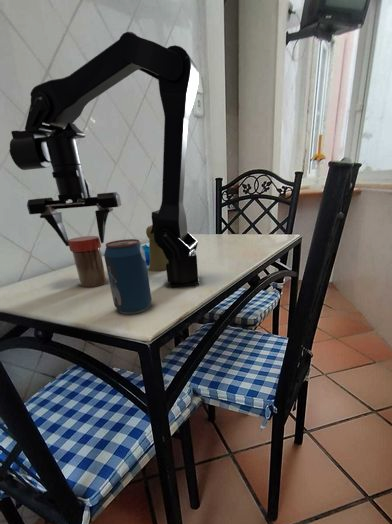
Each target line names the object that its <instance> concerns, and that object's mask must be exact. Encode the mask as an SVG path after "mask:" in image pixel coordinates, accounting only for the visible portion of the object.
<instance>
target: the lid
mask: <svg viewBox="0 0 392 524" xmlns="http://www.w3.org/2000/svg"><path fill="white" fill-rule="evenodd" d="M68 242H69V243H68V244H69V246H68V247H69V251H70V252H85V251H92V250H96V249H99V248H100V249H101V248H102V243H101V241H100V238H99V235H85V236H78V237H73V238H70V239H69V238H68Z"/></svg>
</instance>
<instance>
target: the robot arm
mask: <svg viewBox="0 0 392 524" xmlns="http://www.w3.org/2000/svg"><path fill="white" fill-rule="evenodd" d="M136 71H140V72H143V73H145V74H146V75H148V76H150V77H152V78H154V79H156V80H157V81H158V89H159V96H160V97H159V98H160V100H161V106H162V110H163V116H164V122H163V123H164V124H163V125H164V126H163V127H164V128H163V155H162V156H163V158H162V186H161V187H162V189H161V193H162V194H161V203H160V207H159V209H158V210H157V209H156V210H155V211H152V212H151V222H152V224H151V225H152V230H151V234H152V233H154V241H155V243H156V244H157V245H158V246H159V247H160V248H161V249H162V250H163V252H164V254H165V257H166V259H168V262H166V270H165V271H166V279H167V283H169V287H170V288H176V287H177V288H178V287H189V286H199V285H200V279H199V271H198V270H199V269H198V258H197V257H198V256H197V252H196V251H197V248H198V244H199V241H198V240H197V239H196V238H195V237H194V236H193V235H192V234H191V233H190V232H188V224H187V223H188V222H187V215H186V210H185V207H184V206H185V205H184V194H185V176H186V163H187V161H186V160H187V159H186V158H187V146H188V130H189V120H190V117H191V113H192V110H193V107H194V104H195V100H196V95H197V91H198V86H199V81H200V76H199V75H200V73H199V69H198V67H197V65H196V64H195V62H194V61H193V59H192V58H191V56H190V55H189V53H188V52H187V51H186V49H184V48H183V47H182V46H180V45H175V44H174V45H170V46H167V47H165V46H164V45H161V44H159V43H157V42H155V41H153V40H150V39H146V38H144V37H140V36H138V35H137V34H136V33H134V32H133V31H126V32H124V33H122V34H121V36H120V37H119V39H117V40H116V41H115V42H114V43H112V44H110V45H109V46H108V47H106V48H105V49H103V50H102V51H100V53H98V54H97V55H95V56H94V57H93V58H91V59H89V60H88V61H87V62H86V63H84V64H83V65H81V66H80V67H78V69H76V70H75V71H73V72H72V73H71V74H69V75H67V76H65V77H61V78H55V79H49V80H47V81H44V82H42V83H40V84H37V85H35V86H34V87H33V88H32V90H31V91H30V92H29V93H30V104H29V105H30V106H29V109H28V113H27V117H26V121H25V126H24V130H11V131H10V134H11V137H12V139H11V140H10V142H9V156H10V157H11V159H12V162H13V163H14V164H15V165H16V166H17V168H18V169H20V170H22V171H29V170H40V169H48V168H50V167H52V168H51V169H52V172H51V174H52V178H53V179H54V180H55V184H56V189H57V191H58V194H57V197H58V199H55V200H54V199H53V197H39V198H32V199H28V200H27V202H26V207H27V211H28V214H29V215H39V214H40V215H39V218H40V219H44V220H45V221H46V222H47V223H48V224H49V225H50V226H51V227H52V229H53V230H54V231H55V233H56V234H57V236H58V237H59V238H60V239H61V241H62V242H63V244H64V245H65V246H66V247H69V244H68V243H69V242H68V240H69V237H68V234H67V231H66V228H65V225H64V222H63V217H62V216H63V215H62V212H61V211H59V212H58V210H64V209H75V208H85V207H86V208H87V207H96V208H97V209H96V210H95V211H94V213H95V219H96V224H97V232H98V237H99V239H100V244H104V242H105V234H106V224H107V220H108V217H109V214H110V213H111V212H113V211H114V208H119V207H121V206H122V201H121V196H120V194H119V193H118V192H117V191H113V192H101V193H97V194H96V196H94V194H93V193H94V192H93V187H92V186H91V184H90V183H89V181H87V178H86V177H85V176H86V175H85V173H84V171H83V168H82V167H83V166H82V163H81V158H80V153H79V149H78V145H77V140H76V139H85V137H86V133H84V132H83V131H82V130H80V129H79V127H77V125H76V124H75V122H76V120H77V119H78V118H79V117H80V116H81V115H82V113H83V110H84V108H85V107H86V106H87V105H88V104H89V103H90V102H91V101H93V100H95V99H96V98H97V97H99V96H101V95H103V93H105V92H106V91H108V90H109V89H111V88H112V87H114V86H115V85H117V84H119V83H120V82H122V81H123V80H124V79H126V78H127V77H129V76H131V75H132V74H134V73H135V72H136ZM68 201H71V202H68Z"/></svg>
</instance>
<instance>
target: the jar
mask: <svg viewBox="0 0 392 524" xmlns="http://www.w3.org/2000/svg"><path fill="white" fill-rule="evenodd" d="M71 252H72V251H71ZM72 257H73V261H74V264H75V269H76V272H77V276H78V281H79V284H80V287H82V288H95V287H100V286H104V285H105V284H107V282H108V279H107V276H106V271H105V265H104V261H103V257H102V252H101V248H99V249H96V250H92V251H85V252H72Z"/></svg>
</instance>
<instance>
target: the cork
mask: <svg viewBox="0 0 392 524" xmlns="http://www.w3.org/2000/svg"><path fill="white" fill-rule="evenodd" d="M151 230H152V224H151V225H148V226H147V227H146V229H145V234H146V237H147V238H148V241H149V243H148V247H149V249H148V250H149V253H148V254H149V270H150V271H154V272H160V271H161V272H162V271H166V262H168V259H166V257H165V254H164V252H163V250H162V249H161V248H160V247H159V246H158V245H157V244H156V243H155V241H154V233H152V234H151Z"/></svg>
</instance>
